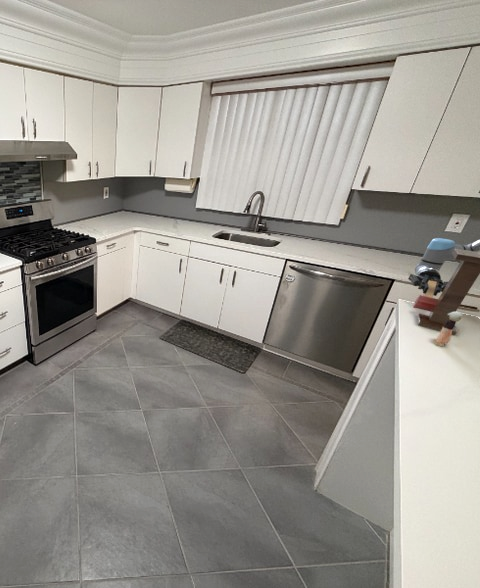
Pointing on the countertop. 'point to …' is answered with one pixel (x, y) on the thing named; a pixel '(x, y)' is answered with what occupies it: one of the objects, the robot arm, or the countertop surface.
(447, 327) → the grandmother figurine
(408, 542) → the countertop surface
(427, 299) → the toy mallet
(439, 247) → the robot arm
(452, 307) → the shelf stand
